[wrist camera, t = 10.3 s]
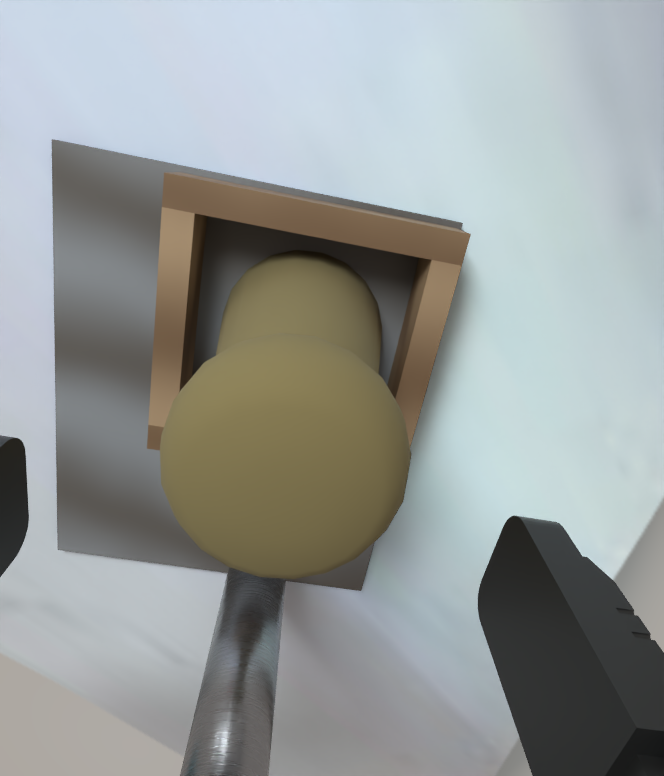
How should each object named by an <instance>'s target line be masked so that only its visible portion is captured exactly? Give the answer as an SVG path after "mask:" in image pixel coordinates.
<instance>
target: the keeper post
mask: <svg viewBox="0 0 664 776" xmlns="http://www.w3.org/2000/svg"><path fill="white" fill-rule="evenodd" d="M285 581H286V579H283V578H267V577H258V576H255V575H252V574H249V573H246V572H243V571H240V570H236V569H233V568H230V567H229V570H228V574H227V578H226V582H225V587H224V591H223V595H222V599H221V604H220V608H219V612H218V617H217V621H216V625H215V629H214V634H213V638H212V642H211V646H210V651H209V655H208V659H207V663H206V668H205V672H204V676H203V680H202V685H201V689H200V693H199V697H198V702H197V706H196V710H195V714H194V719H193V723H192V727H191V732H190V736H189V740H188V744H187V749H186V753H185V757H184V761H183V766H182V770H181V774H180V776H268V772H269V761H270V750H271V739H272V727H273V716H274V705H275V694H276V682H277V671H278V660H279V649H280V637H281V626H282V615H283V604H284V593H285Z"/></svg>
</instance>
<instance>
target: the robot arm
mask: <svg viewBox="0 0 664 776" xmlns="http://www.w3.org/2000/svg"><path fill="white" fill-rule="evenodd" d="M28 520H29V514H28V494H27V475H26V456H25V448H24V445H23V442H22V441H21V440H20V439H18V438H13V437H6V436H0V577H1V576H2V574H3V573H4V572H5V570H6V569H7V568H8V566H9V565H10V564H11V563H12V561H13V560H14V559H15V557H16V556H17V554H18V552H19V551H20V548H21V546H22V544H23V542H24V539H25V536H26V532H27V528H28ZM478 612H479V618H480V622H481V625H482V628H483V631H484V634H485V637H486V640H487V643H488V646H489V649H490V652H491V655H492V657H493V660H494V663H495V666H496V669H497V672H498V675H499V678H500V681H501V684H502V687H503V690H504V693H505V696H506V699H507V702H508V705H509V707H510V710H511V713H512V716H513V719H514V722H515V725H516V728H517V731H518V734H519V737H520V740H521V743H522V746H523V748H524V752H525V754H526V757H527V760H528V763H529V766H530V769H531V772H532V775H533V776H664V653H663V651H662V650H661V648H660V647H659V646H658V644H657V643H656V641H655V640H651V639H650V633H649V631H648V630H647V628H646V627H645V625H644V624H643V622H642V621H641V619H640V618H639V617H638V616H635V615H634V609H633V608H632V606H631V605H630V604H629V602H628V601H627V599H626V598H625V596H624V595H623V593H622V592H621V591H620V589H619V588H618V586H617V585H616V583H615V582H614V581H613V580H612V579H611V578H610V577H608V576H607V575H606V574H605V573H604V572H603V571H602V570H601V569H600V568H598V567H597V566H596V565H595V564H594V563H593V562H592V561H591V560H590V559H589V558H587V557H582V555H581V554H580V552H579V551H578V549H577V548H576V546H575V545H574V543H573V542H572V540H571V538H570V537H569V535H568V534H567V532H566V531H565V529H564V528H563V527H562V526H561V525H560V524H559V523H557V522H552V521H545V520H539V519H532V518H526V517H519V516H512V517H510V518H509V519H508V520H507V521H506V523H505V525H504V527H503V529H502V531H501V534H500V536H499V539H498V541H497V544H496V546H495V549H494V551H493V554H492V556H491V559H490V561H489V564H488V566H487V568H486V571H485V573H484V576H483V578H482V581H481V584H480V588H479V593H478Z"/></svg>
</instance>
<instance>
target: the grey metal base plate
mask: <svg viewBox="0 0 664 776" xmlns="http://www.w3.org/2000/svg"><path fill="white" fill-rule="evenodd" d="M52 186H53V256H54V325H55V394H56V464H57V533H58V550H63V551H70V552H77V553H85V554H92V555H100V556H107V557H114V558H122V559H129V560H137V561H144V562H151V563H159V564H166V565H174V566H181V567H188V568H196V569H203V570H211V571H218V572H225V573H228V570H229V567H228V566H226V565H225V564H223V563H222V562H220V561H218V560H217V559H215V558H214V557H212V556H211V555H209V554H207V553H206V552H204V551H203V550H201V549H200V548H199V546H198V545H197V544H196V543H195V542H194V541H193V540H192V538H191V537H190V536H189V535H188V534H187V533H186V531H185V530H184V529H183V528H182V527H181V526H180V524H179V522H178V521H177V519H176V518H175V516H174V514H173V512H172V509H171V507H170V504H169V502H168V499H167V497H166V495H165V492H164V490H163V487H162V485H161V467H160V443H161V434H162V431H163V429H164V426H165V423H166V420H167V417H168V414H169V411H170V409H171V406H172V403H173V401H174V399H175V398H176V396H177V395H178V394H179V392H180V391H181V389H182V388H183V387H184V386H185V385H186V383H187V382H188V381H189V380H190V379H191V378H192V376H193V375H194V374H195V373H196V372H197V370H198V369H199V368H200V367H201V366H202V364H203V363H204V362H206V361H208V360H209V359H211V358H213V357H214V356H216V352H217V346H218V340H219V334H220V328H221V322H222V316H223V311H224V309H225V306H226V303H227V300H228V298H229V295H230V292H231V289H232V288H233V287H234V285H235V284H236V283H237V282H238V281H239V279H240V278H241V277H242V276H243V274H244V273H245V272H246V271H247V270H248V269H249V268H251V267H252V266H254V265H255V264H257V263H259V262H260V261H262V260H264V259H265V258H267V257H268V256H271V255H275V254H279V253H284V252H288V251H292V250H303V251H313V252H322V253H324V254H327V255H329V256H331V257H333V258H336V259H338V260H340V261H342V262H345V263H347V264H348V265H349V266H350V267H351V268H352V269H353V270H354V271H355V272H356V273H358V274H359V275H360V276H361V277H362V278H363V279H364V280H365V281H366V283H367V284H368V286H369V288H370V290H371V292H372V293H373V295H374V297H375V299H376V301H377V302H378V307H379V313H380V318H381V323H382V335H381V349H380V362H379V375H380V376H381V377H382V378H383V380H384V381H385V383H386V385H387V386H388V388H389V390H390V391H391V393H392V395H393V397H394V398H395V400H396V402H397V403H398V405H399V407H400V409H401V411H402V414H403V417H404V419H405V424H406V429H407V434H408V440H409V445H410V446H411V442H412V439H413V435H414V432H415V428H416V425H417V421H418V418H419V414H420V411H421V407H422V404H423V400H424V397H425V393H426V390H427V386H428V383H429V379H430V376H431V372H432V369H433V365H434V362H435V358H436V354H437V351H438V347H439V344H440V340H441V337H442V333H443V330H444V326H445V323H446V319H447V316H448V312H449V309H450V305H451V302H452V298H453V295H454V291H455V288H456V284H457V281H458V277H459V274H460V270H461V267H462V263H463V259H464V256H465V252H466V249H467V245H468V242H469V238H470V235H471V234H469V233H466V232H464V231H462V230H461V227H462V224H463V223H461V222H456V221H451V220H446V219H441V218H436V217H431V216H426V215H421V214H417V213H412V212H407V211H402V210H397V209H392V208H387V207H382V206H377V205H372V204H368V203H363V202H358V201H353V200H348V199H343V198H338V197H333V196H328V195H323V194H318V193H314V192H309V191H304V190H299V189H294V188H289V187H284V186H279V185H274V184H269V183H265V182H260V181H255V180H250V179H245V178H240V177H235V176H230V175H225V174H220V173H215V172H211V171H206V170H201V169H196V168H191V167H186V166H181V165H176V164H171V163H166V162H162V161H157V160H152V159H147V158H142V157H137V156H132V155H127V154H122V153H117V152H112V151H108V150H103V149H98V148H93V147H88V146H83V145H78V144H73V143H68V142H63V141H59V140H52ZM373 546H374V543H373V544H371V545H370V546H369V547H368V548H367V549H366V550H365V551H364V552H362V553H361V554H360V555H359V556H358V557H357V558H356V559H355V560H352V561H350V562H348V563H346V564H344V565H342V566H340V567H338V568H336V569H333V570H331V571H329V572H327V573H324V574H319V575H313V576H308V577H302V578H297V579H286V581H292V582H299V583H307V584H314V585H322V586H329V587H336V588H344V589H351V590H358V591H361V589H362V586H363V582H364V578H365V575H366V571H367V568H368V564H369V560H370V557H371V553H372V550H373Z"/></svg>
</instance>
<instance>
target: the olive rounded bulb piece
mask: <svg viewBox="0 0 664 776" xmlns="http://www.w3.org/2000/svg"><path fill="white" fill-rule="evenodd" d="M381 335H382V323H381V318H380V313H379V307H378V302H377V301H376V299H375V297H374V295H373V293H372V292H371V290H370V288H369V286H368V284H367V283H366V281H365V280H364V279H363V278H362V277H361V276H360V275H359V274H358V273H356V272H355V271H354V270H353V269H352V268H351V267H350V266H349V265H348V264H347V263H345V262H342V261H340V260H338V259H336V258H333V257H331V256H329V255H327V254H324V253H322V252H313V251H303V250H292V251H288V252H284V253H279V254H275V255H271V256H268V257H267V258H265V259H264V260H262V261H260V262H259V263H257V264H255V265H254V266H252V267H251V268H249V269H248V270H247V271H246V272H245V273H244V274H243V276H242V277H241V278H240V279H239V281H238V282H237V283H236V284H235V285H234V287H233V288H232V289H231V292H230V295H229V298H228V300H227V303H226V306H225V309H224V311H223V316H222V322H221V328H220V334H219V340H218V346H217V352H216V356H214V357H213V358H211V359H209V360H208V361H206V362H204V363H203V364H202V366H201V367H200V368H199V369H198V370H197V372H196V373H195V374H194V375H193V376H192V378H191V379H190V380H189V381H188V382H187V383H186V385H185V386H184V387H183V388H182V389H181V391H180V392H179V394H178V395H177V396H176V398H175V399H174V401H173V403H172V406H171V409H170V411H169V414H168V417H167V420H166V423H165V426H164V429H163V431H162V434H161V443H160V467H161V485H162V487H163V490H164V492H165V495H166V497H167V499H168V502H169V504H170V507H171V509H172V512H173V514H174V516H175V518H176V519H177V521H178V522H179V524H180V526H181V527H182V528H183V529H184V530H185V531H186V533H187V534H188V535H189V536H190V537H191V538H192V540H193V541H194V542H195V543H196V544H197V545H198V546H199V548H200V549H201V550H203V551H204V552H206V553H207V554H209V555H211V556H212V557H214V558H215V559H217V560H218V561H220V562H222V563H223V564H225V565H226V566H228V567H230V568H233V569H236V570H240V571H243V572H246V573H249V574H252V575H255V576H258V577H267V578H283V579H297V578H302V577H308V576H313V575H319V574H324V573H327V572H329V571H331V570H333V569H336V568H338V567H340V566H342V565H344V564H346V563H348V562H350V561H352V560H355V559H356V558H357V557H358V556H359V555H360V554H361V553H362V552H364V551H365V550H366V549H367V548H368V547H369V546H370V545H371V544H373V543H374V542H375V541H376V540H377V539H378V538H379V537H380V536H381V535H382V534H383V533H384V532H385V531H386V530H387V528H388V526H389V525H390V523H391V521H392V519H393V518H394V516H395V514H396V513H397V511H398V509H399V507H400V506H401V504H402V502H403V499H404V493H405V488H406V482H407V477H408V471H409V465H410V459H411V451H410V445H409V440H408V434H407V429H406V424H405V419H404V417H403V414H402V411H401V409H400V407H399V405H398V403H397V402H396V400H395V398H394V397H393V395H392V393H391V391H390V390H389V388H388V386H387V385H386V383H385V381H384V380H383V378H382V377H381V376H380V375H379V362H380V349H381Z"/></svg>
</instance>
